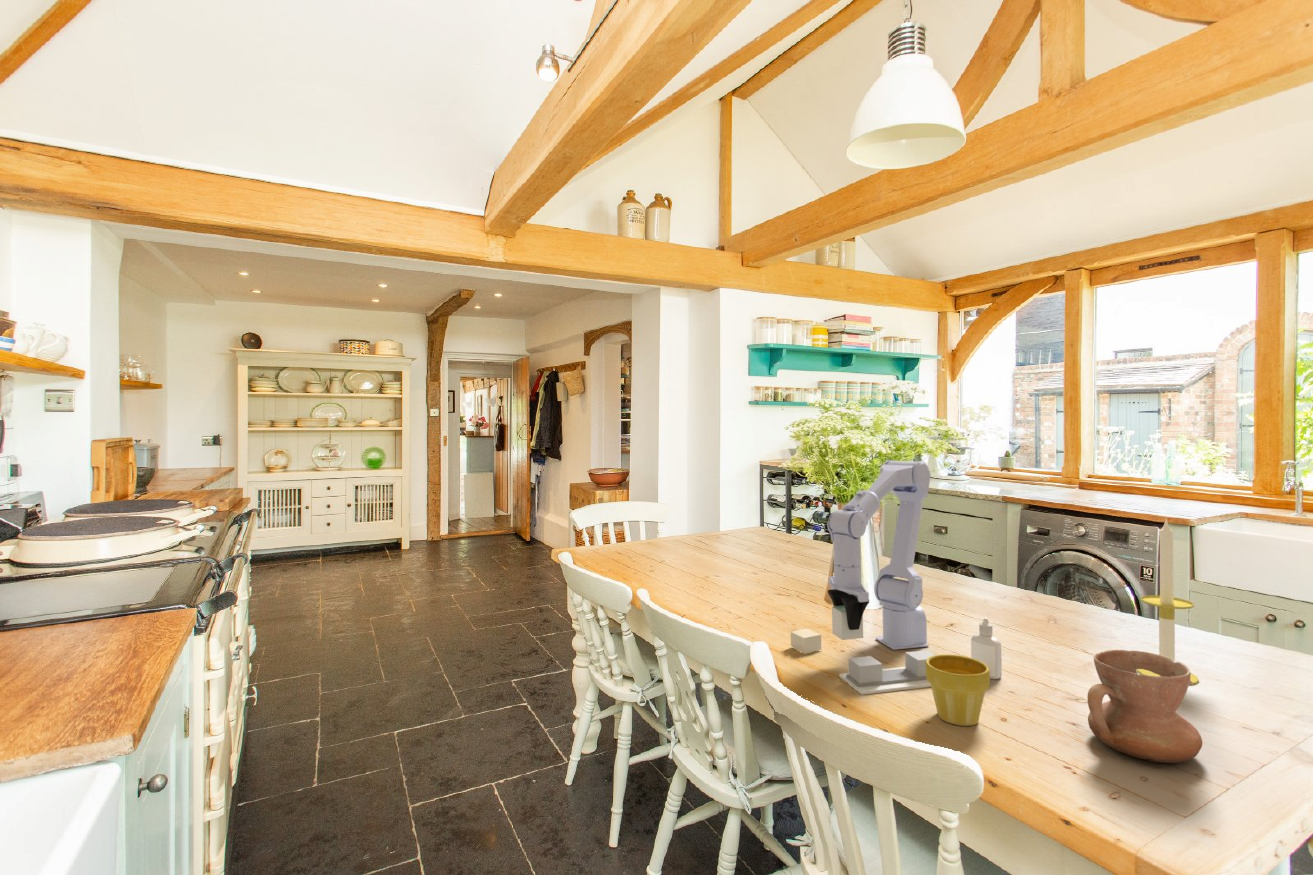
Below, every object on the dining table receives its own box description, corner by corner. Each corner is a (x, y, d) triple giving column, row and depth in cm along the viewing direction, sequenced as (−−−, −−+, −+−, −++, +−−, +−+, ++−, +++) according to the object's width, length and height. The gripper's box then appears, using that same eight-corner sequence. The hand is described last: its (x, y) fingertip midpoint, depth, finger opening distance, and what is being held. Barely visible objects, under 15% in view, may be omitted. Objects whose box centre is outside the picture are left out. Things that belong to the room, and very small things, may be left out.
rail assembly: (924, 667, 135) (924, 646, 135) (951, 684, 126) (951, 661, 126) (839, 676, 131) (838, 654, 131) (861, 694, 122) (860, 671, 122)
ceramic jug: (1149, 722, 109) (1146, 642, 108) (1236, 767, 94) (1233, 674, 94) (1055, 733, 106) (1052, 651, 106) (1129, 780, 92) (1125, 685, 92)
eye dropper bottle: (983, 680, 127) (983, 622, 127) (968, 670, 133) (968, 614, 133) (1004, 679, 127) (1004, 622, 127) (988, 669, 133) (988, 613, 133)
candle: (1155, 662, 134) (1154, 513, 134) (1210, 680, 125) (1210, 519, 124) (1125, 670, 131) (1124, 516, 130) (1179, 689, 121) (1178, 523, 121)
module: (853, 631, 140) (852, 604, 140) (863, 637, 136) (862, 610, 136) (832, 633, 139) (831, 606, 139) (842, 640, 135) (841, 612, 135)
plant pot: (935, 699, 119) (934, 649, 119) (995, 714, 113) (995, 661, 113) (919, 720, 111) (918, 666, 111) (982, 737, 105) (982, 680, 105)
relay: (807, 644, 150) (807, 628, 150) (821, 651, 146) (821, 634, 146) (790, 648, 148) (790, 631, 148) (804, 655, 144) (803, 638, 144)
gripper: (816, 558, 144) (817, 617, 144) (846, 573, 129) (847, 638, 130) (844, 556, 145) (845, 614, 145) (877, 571, 131) (878, 635, 131)
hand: (848, 625), depth 137 cm, fingers closed on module, 4 cm apart
